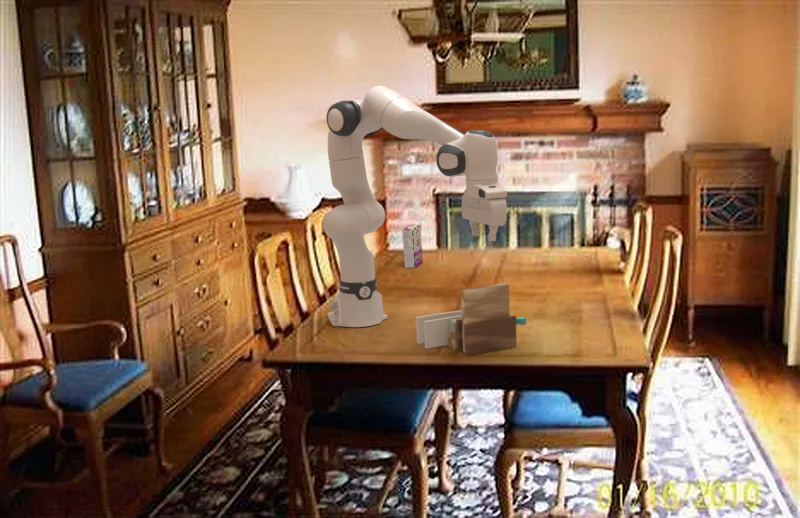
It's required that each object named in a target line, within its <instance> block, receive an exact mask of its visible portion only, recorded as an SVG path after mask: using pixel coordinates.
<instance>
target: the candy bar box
mask: <svg viewBox="0 0 800 518" xmlns="http://www.w3.org/2000/svg"><path fill="white" fill-rule="evenodd" d="M401 231H402V232H401V233H402V244H403V246H402V247H403V261H404V262H403V263H404V268H405V269H416V268H417V267H419V266H420V265H421V264H422V263H423V249H422V247H423V245H422V226H421V224H410V225H408V226H406V227H404V228H402V230H401Z"/></svg>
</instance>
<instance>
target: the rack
mask: <svg viewBox="0 0 800 518" xmlns="http://www.w3.org/2000/svg"><path fill="white" fill-rule="evenodd" d="M516 319H517V316H516V315H510V316H508V317H502V318H495V319H489V320H483V321H477V322H470V323H464V337H465V352H464V355H465V356H471V355H477V354H482V353H489V352H495V351H499V350H504V349H505V350H506V349H511V347H512V348H517V324H516ZM456 332H457V350H456V351H457V352H458V351H460V352H461V351H463V333H462V319H456Z"/></svg>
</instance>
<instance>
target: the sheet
mask: <svg viewBox="0 0 800 518" xmlns="http://www.w3.org/2000/svg"><path fill="white" fill-rule="evenodd" d="M460 291H461V292H460V296H461V297H460V301H461V310H462V333H463V350H462V352H463V353H465V337H464V323H470V322H477V321H483V320H489V319H495V318H502V317H508V316H511V313H510V312H511V311H510V310H511V309H510V285H509V284H507V283H505V282H504V283H498V284H497V283H496V284H491V285H485V286H483V285H482V286H477V287H470V288H463V289H462V288H461V289H460Z"/></svg>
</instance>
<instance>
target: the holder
mask: <svg viewBox="0 0 800 518" xmlns="http://www.w3.org/2000/svg"><path fill="white" fill-rule="evenodd" d="M457 318H462V309H460V310H459V309H458V310H453V311H447V312H440V313H434V314H427V315H422V316H421V315H419V316H416V317H415V320H416V340H417V341H416V344H418V345H423V344H424V348H425V349H426V350H427V349H433V348H437V347H445V346H449V343H448V330H450V319H457Z"/></svg>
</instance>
